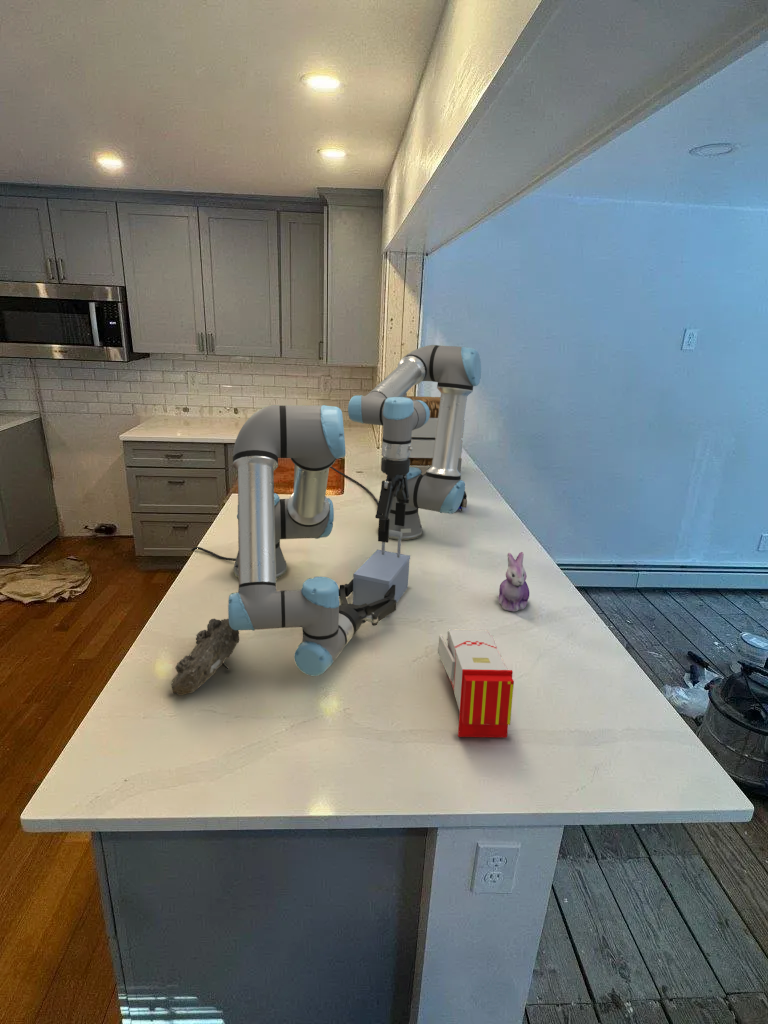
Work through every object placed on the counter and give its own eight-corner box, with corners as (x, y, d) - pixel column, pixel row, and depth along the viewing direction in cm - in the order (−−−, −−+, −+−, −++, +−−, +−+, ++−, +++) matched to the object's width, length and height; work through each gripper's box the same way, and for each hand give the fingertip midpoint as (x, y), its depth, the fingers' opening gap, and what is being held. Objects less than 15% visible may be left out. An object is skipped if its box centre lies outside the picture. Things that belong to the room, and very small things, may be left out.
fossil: (193, 621, 132) (239, 591, 127) (222, 649, 135) (268, 620, 130) (150, 689, 112) (202, 656, 107) (184, 719, 115) (237, 689, 110)
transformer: (382, 463, 289) (386, 382, 275) (445, 464, 293) (451, 384, 279) (390, 482, 257) (394, 392, 243) (460, 483, 261) (468, 394, 247)
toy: (488, 613, 130) (523, 677, 101) (484, 667, 133) (517, 744, 104) (435, 612, 130) (455, 676, 101) (432, 666, 133) (451, 743, 103)
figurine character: (467, 516, 223) (461, 500, 237) (469, 499, 220) (463, 483, 233) (450, 516, 223) (446, 499, 236) (452, 498, 220) (447, 483, 233)
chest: (375, 581, 165) (376, 553, 162) (407, 588, 162) (409, 559, 159) (352, 607, 149) (353, 577, 146) (387, 615, 146) (389, 585, 143)
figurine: (511, 616, 149) (518, 564, 143) (487, 598, 157) (493, 549, 152) (539, 609, 153) (547, 558, 148) (514, 592, 161) (521, 544, 156)
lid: (377, 552, 162) (378, 524, 159) (410, 559, 159) (412, 530, 156) (353, 577, 146) (354, 546, 144) (389, 585, 143) (390, 553, 140)
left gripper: (295, 630, 133) (335, 589, 153) (385, 652, 126) (414, 607, 146) (295, 601, 131) (335, 564, 151) (386, 622, 124) (416, 580, 144)
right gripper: (393, 470, 136) (389, 551, 143) (422, 449, 158) (417, 521, 165) (364, 466, 138) (361, 546, 145) (397, 446, 161) (393, 517, 168)
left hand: (374, 585), depth 148 cm, fingers closed on chest, 10 cm apart
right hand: (391, 533), depth 155 cm, fingers open, 13 cm apart
